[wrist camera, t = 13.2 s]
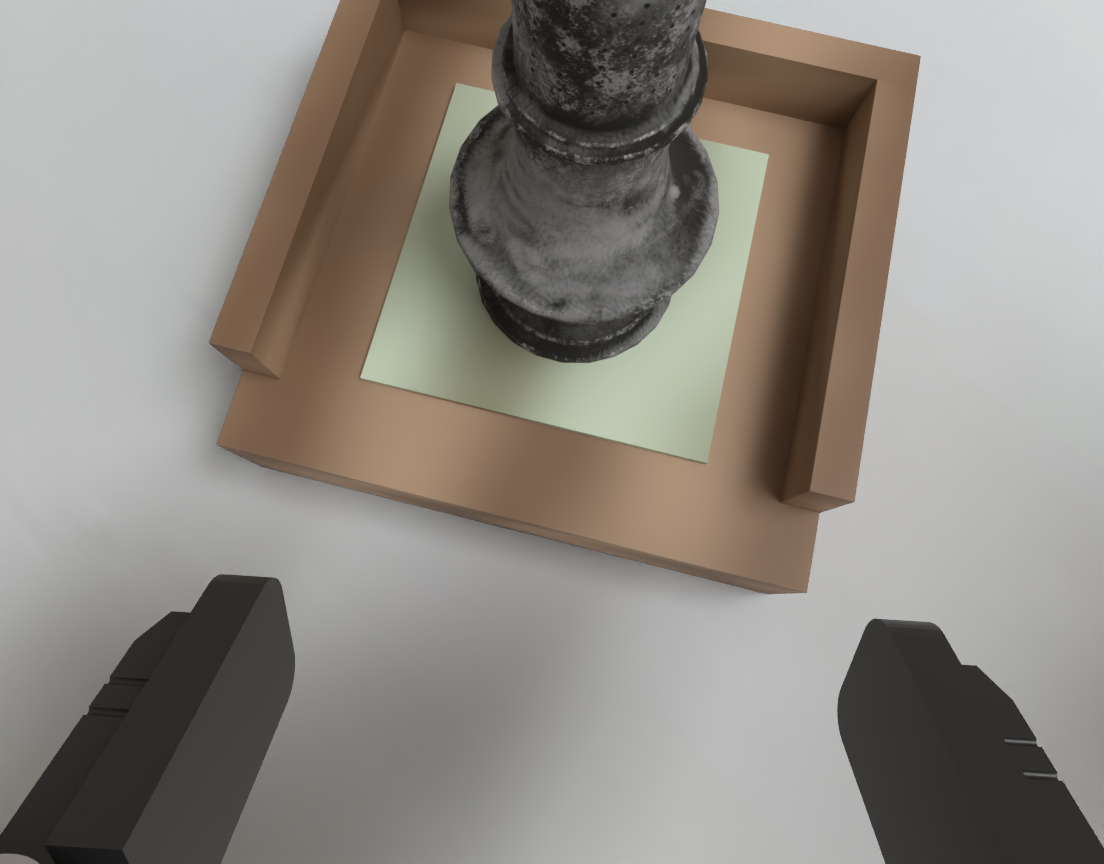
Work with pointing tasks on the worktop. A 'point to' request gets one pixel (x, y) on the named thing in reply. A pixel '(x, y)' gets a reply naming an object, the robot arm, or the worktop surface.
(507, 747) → the worktop surface
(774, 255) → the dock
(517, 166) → the salt shaker
